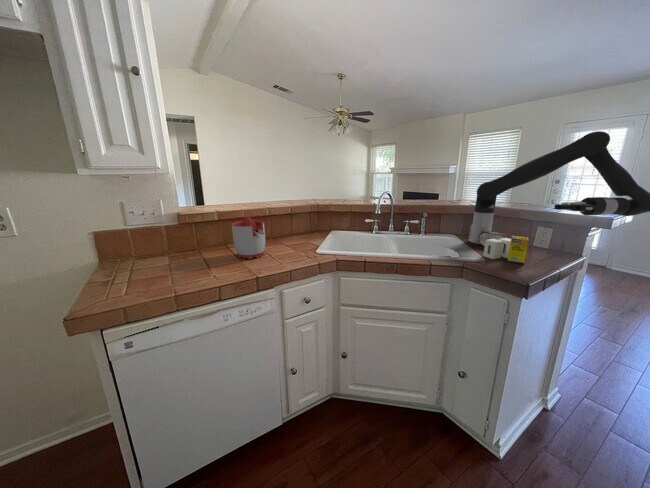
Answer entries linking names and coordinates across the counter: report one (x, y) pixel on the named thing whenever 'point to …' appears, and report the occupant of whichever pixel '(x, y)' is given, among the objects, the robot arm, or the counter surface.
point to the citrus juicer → (249, 237)
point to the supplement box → (517, 249)
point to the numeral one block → (493, 248)
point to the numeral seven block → (505, 247)
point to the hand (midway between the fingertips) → (556, 206)
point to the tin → (490, 236)
